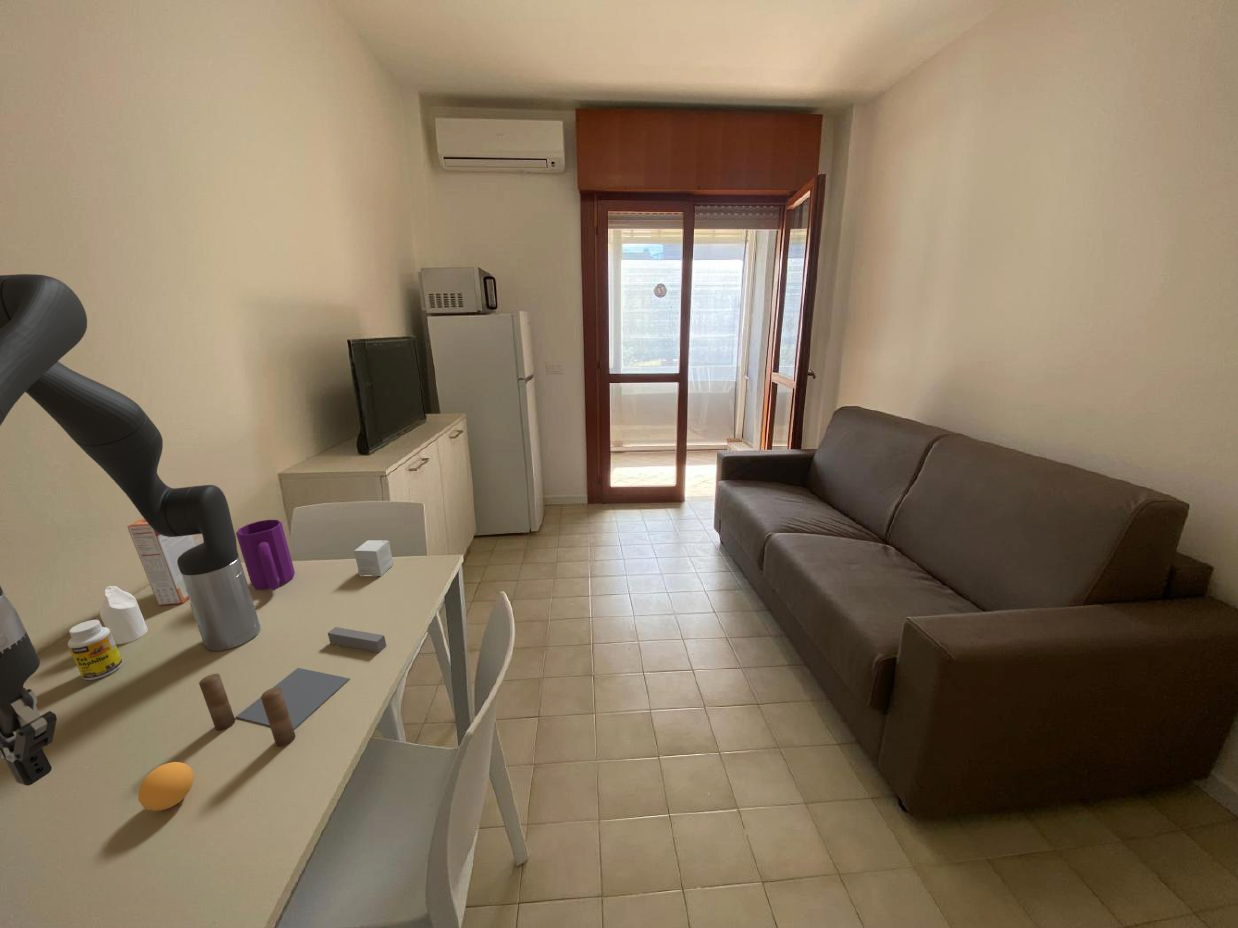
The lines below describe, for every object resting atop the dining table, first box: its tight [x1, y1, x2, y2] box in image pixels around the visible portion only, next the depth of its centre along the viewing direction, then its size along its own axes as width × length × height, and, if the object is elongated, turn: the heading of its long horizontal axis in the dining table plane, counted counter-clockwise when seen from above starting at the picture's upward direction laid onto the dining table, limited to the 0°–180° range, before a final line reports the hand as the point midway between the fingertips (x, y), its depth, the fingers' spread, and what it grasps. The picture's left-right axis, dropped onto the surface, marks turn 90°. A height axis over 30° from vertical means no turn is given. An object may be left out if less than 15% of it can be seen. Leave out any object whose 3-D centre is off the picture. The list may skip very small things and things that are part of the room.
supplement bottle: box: [67, 619, 123, 681], centre depth 93 cm, size 6×6×10 cm
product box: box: [353, 539, 394, 577], centre depth 127 cm, size 6×6×7 cm
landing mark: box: [235, 667, 351, 731], centre depth 86 cm, size 12×12×1 cm
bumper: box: [327, 626, 387, 653], centre depth 99 cm, size 12×2×2 cm, turn 74°
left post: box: [198, 673, 236, 732], centre depth 80 cm, size 3×3×9 cm
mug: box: [235, 519, 296, 591], centre depth 120 cm, size 9×16×15 cm, turn 38°
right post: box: [260, 687, 296, 748], centre depth 76 cm, size 3×3×9 cm
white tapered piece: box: [99, 585, 148, 645], centre depth 103 cm, size 6×12×6 cm
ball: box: [137, 761, 195, 812], centre depth 68 cm, size 6×6×6 cm
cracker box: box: [126, 517, 204, 606], centre depth 119 cm, size 14×6×21 cm, turn 5°
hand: (36, 777), depth 55 cm, fingers closed
